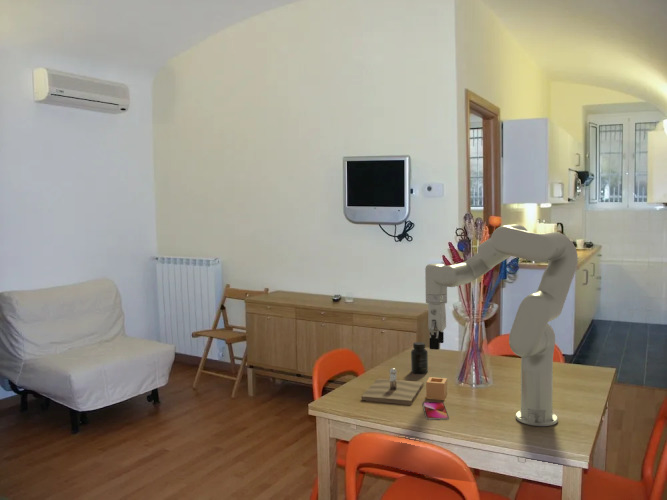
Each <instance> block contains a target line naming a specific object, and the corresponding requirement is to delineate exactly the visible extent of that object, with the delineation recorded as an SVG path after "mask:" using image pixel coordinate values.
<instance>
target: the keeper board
mask: <svg viewBox="0 0 667 500" xmlns="http://www.w3.org/2000/svg"><path fill="white" fill-rule="evenodd" d="M423 387H424V382H423V381H413V380H403V379H402V380H401V379H397V389H396V390H391V389H390V378H389V379H388V378H376V380H375V381H374V382H373V383H372V384H371V385H370V387H368V389H367V390H365V392H364V393H363V394H362V395H361V398H360V399H361V401H362V400H366V401H365V402H373V401H375V403H383V404H384V403H388V404H395V403H396V404H397V405H407V406H408V405H409V406H412V405H413V403H414V402H415V400H416V398H417V397H418V395H419V394H420V392H421V390H422V389H423ZM396 404H395V405H396Z"/></svg>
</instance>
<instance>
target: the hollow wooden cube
mask: <svg viewBox="0 0 667 500" xmlns="http://www.w3.org/2000/svg"><path fill="white" fill-rule="evenodd" d="M425 384H426V385H425V386H426V389H425V390H426V393H425V394H426V395H425V396H426V397H425V398H426V399H427V400H437V401H438V400H439V401H445V400H446V398H447V396H448V378H447V377H434V376H429V377H428V379H427V380H426V382H425Z"/></svg>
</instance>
